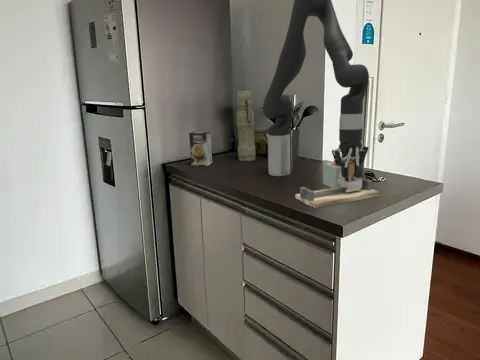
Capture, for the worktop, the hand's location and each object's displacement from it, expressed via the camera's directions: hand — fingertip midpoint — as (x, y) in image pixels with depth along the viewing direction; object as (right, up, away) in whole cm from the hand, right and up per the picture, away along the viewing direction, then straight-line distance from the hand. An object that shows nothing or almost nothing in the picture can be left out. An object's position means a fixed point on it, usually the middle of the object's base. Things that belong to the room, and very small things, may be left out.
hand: (349, 176), depth 134 cm
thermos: (-34, +9, +65) cm, 74 cm away
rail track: (-4, -7, 0) cm, 8 cm away
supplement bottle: (+9, 0, +25) cm, 26 cm away
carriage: (0, -4, +1) cm, 5 cm away
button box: (0, -3, +14) cm, 14 cm away
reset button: (-1, +2, +12) cm, 13 cm away
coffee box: (-57, +6, +59) cm, 82 cm away
